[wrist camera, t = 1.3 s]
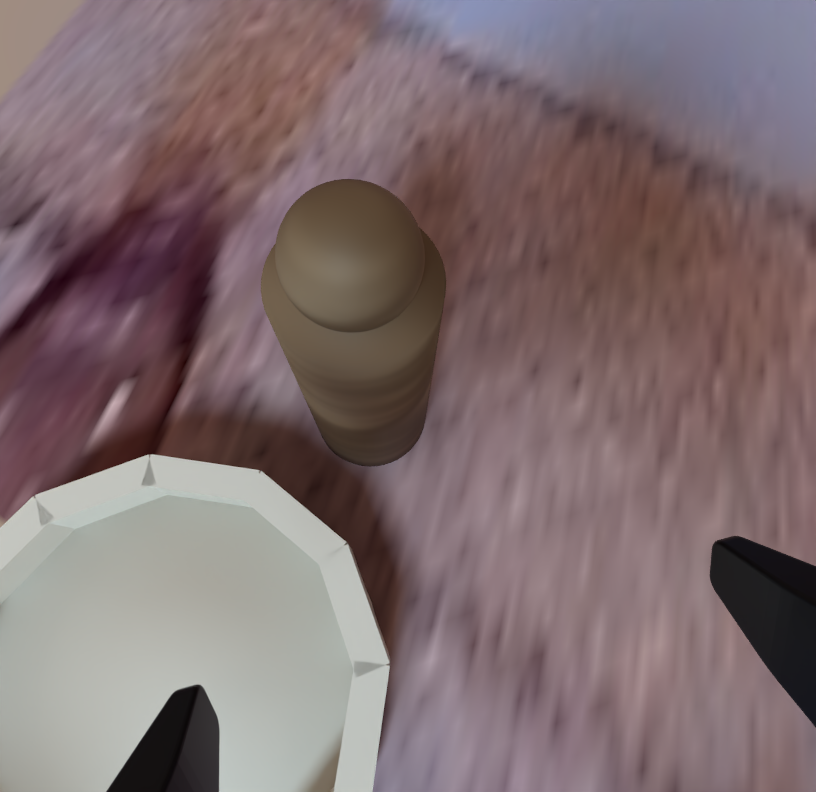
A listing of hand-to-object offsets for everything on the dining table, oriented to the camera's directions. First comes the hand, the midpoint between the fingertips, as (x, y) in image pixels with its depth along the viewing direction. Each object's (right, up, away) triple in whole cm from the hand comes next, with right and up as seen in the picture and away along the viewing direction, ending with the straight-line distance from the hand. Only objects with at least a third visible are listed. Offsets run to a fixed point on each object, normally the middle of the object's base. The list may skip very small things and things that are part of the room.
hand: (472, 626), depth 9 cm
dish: (-10, -7, +11) cm, 17 cm away
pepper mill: (-3, +3, +15) cm, 16 cm away
